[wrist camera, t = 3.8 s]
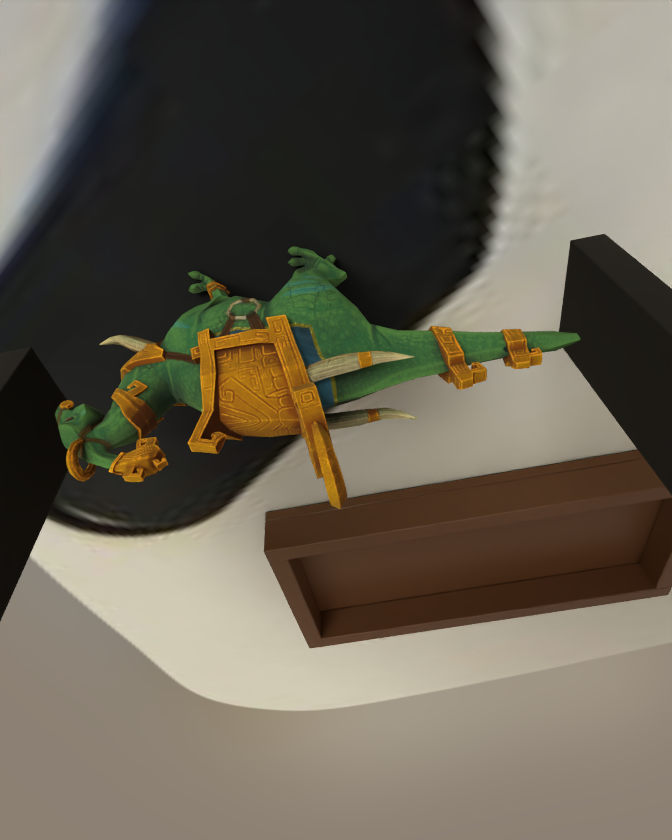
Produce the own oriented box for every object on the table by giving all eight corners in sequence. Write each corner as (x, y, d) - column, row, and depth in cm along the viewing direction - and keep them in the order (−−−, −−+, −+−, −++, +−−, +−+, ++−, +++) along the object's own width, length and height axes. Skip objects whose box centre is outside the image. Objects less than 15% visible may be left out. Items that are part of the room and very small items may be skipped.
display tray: (265, 512, 22) (263, 552, 20) (694, 439, 21) (726, 476, 19) (308, 611, 27) (309, 649, 26) (646, 559, 26) (668, 595, 25)
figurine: (82, 274, 14) (-72, 499, 8) (512, 194, 14) (693, 372, 8) (128, 363, 16) (32, 597, 10) (505, 297, 16) (643, 503, 10)
